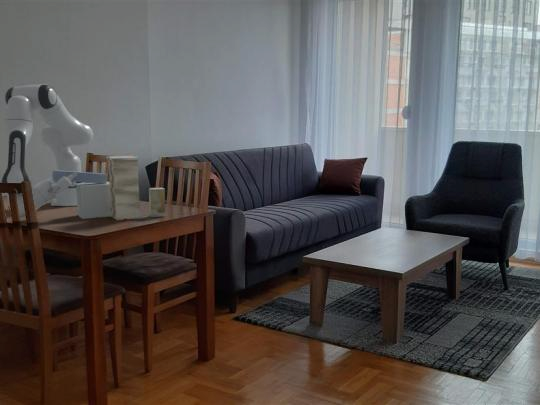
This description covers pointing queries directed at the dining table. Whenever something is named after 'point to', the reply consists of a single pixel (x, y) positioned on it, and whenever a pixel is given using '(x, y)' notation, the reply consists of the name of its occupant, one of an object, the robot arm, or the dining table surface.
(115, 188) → the pedestal
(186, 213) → the dining table surface
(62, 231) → the dining table surface
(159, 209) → the skincare box
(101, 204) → the low block
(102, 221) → the dining table surface
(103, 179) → the bar
